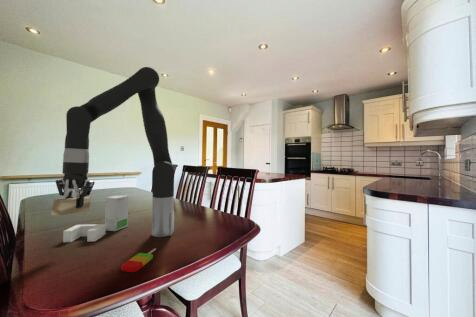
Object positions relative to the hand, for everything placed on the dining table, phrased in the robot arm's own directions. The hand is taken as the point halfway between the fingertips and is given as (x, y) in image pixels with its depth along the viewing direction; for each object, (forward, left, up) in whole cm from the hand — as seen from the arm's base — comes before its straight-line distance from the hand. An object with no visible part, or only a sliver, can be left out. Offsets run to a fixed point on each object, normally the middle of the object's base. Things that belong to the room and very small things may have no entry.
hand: (73, 207), depth 75 cm
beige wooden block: (0, +1, -2) cm, 2 cm away
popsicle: (-28, +9, -16) cm, 34 cm away
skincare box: (-4, -24, -16) cm, 29 cm away
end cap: (+3, -12, -16) cm, 20 cm away
